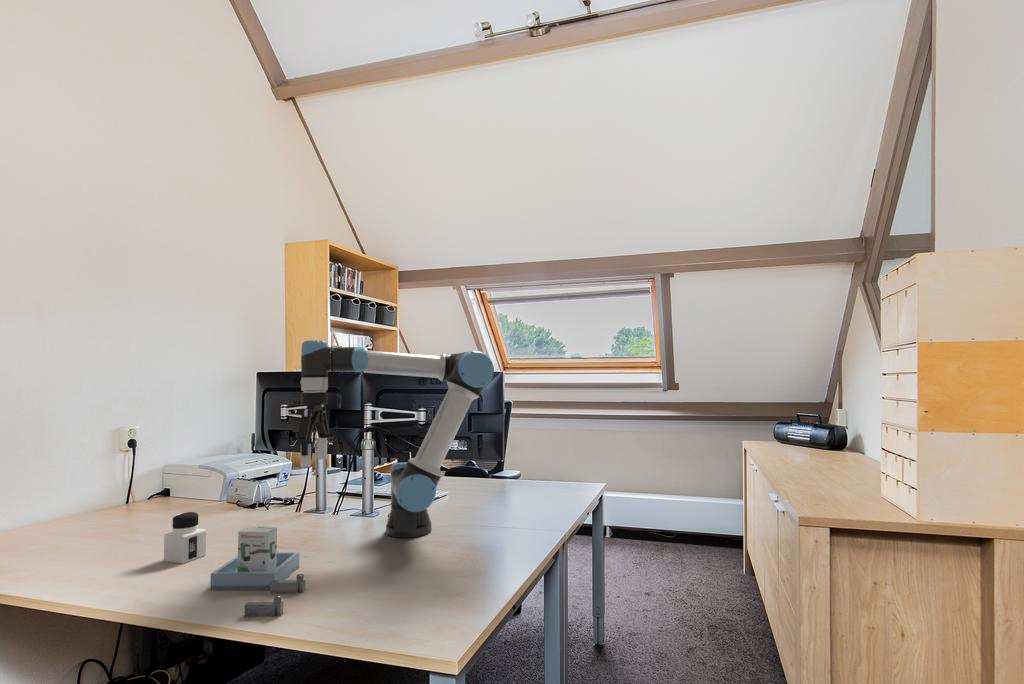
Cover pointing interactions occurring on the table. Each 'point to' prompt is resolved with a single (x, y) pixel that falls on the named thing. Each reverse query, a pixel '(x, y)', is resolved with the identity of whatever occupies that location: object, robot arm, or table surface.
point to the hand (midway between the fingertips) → (314, 463)
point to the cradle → (275, 598)
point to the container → (185, 539)
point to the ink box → (257, 549)
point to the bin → (253, 574)
